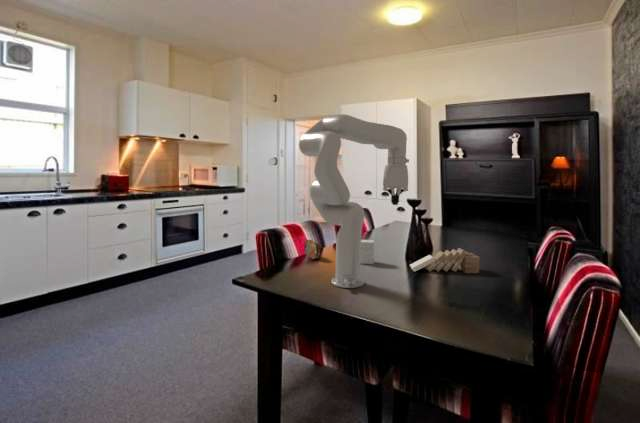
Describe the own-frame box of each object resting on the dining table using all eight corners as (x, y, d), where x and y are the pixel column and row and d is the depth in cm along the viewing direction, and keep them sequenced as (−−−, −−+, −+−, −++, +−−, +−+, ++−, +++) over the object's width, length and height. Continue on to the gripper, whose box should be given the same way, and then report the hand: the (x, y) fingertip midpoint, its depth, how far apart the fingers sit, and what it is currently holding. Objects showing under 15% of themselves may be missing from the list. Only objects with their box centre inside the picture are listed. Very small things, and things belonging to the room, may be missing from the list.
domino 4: (442, 268, 164) (456, 251, 163) (446, 271, 159) (461, 254, 158) (438, 266, 163) (452, 248, 163) (443, 269, 159) (457, 251, 158)
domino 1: (411, 268, 163) (431, 258, 163) (414, 271, 158) (435, 261, 158) (409, 264, 163) (429, 254, 163) (412, 267, 158) (433, 257, 158)
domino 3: (434, 268, 164) (449, 252, 163) (438, 271, 159) (454, 255, 158) (431, 265, 163) (446, 249, 163) (435, 268, 158) (451, 252, 158)
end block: (478, 273, 158) (479, 257, 157) (465, 272, 158) (466, 257, 157) (470, 268, 166) (471, 253, 165) (457, 267, 165) (458, 252, 165)
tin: (303, 254, 188) (303, 238, 187) (309, 253, 189) (309, 237, 188) (315, 261, 174) (315, 243, 173) (321, 260, 176) (321, 243, 175)
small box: (373, 261, 175) (374, 239, 174) (373, 264, 170) (374, 242, 168) (356, 260, 176) (357, 239, 175) (356, 263, 171) (357, 241, 169)
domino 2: (426, 268, 163) (442, 253, 163) (430, 271, 158) (447, 256, 158) (423, 265, 163) (440, 250, 163) (427, 268, 158) (444, 253, 158)
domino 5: (451, 268, 164) (462, 249, 163) (455, 271, 159) (467, 252, 158) (447, 266, 164) (458, 247, 163) (451, 269, 159) (463, 250, 158)
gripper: (411, 162, 159) (409, 204, 161) (377, 161, 158) (376, 203, 160) (416, 161, 151) (414, 205, 154) (380, 161, 151) (379, 205, 153)
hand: (394, 204), depth 157 cm, fingers closed
